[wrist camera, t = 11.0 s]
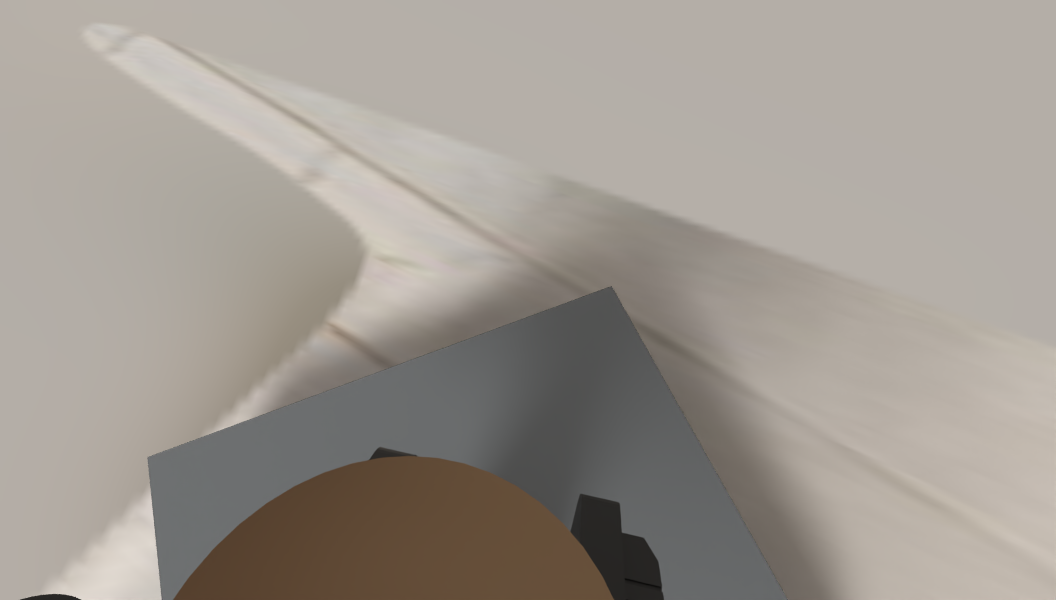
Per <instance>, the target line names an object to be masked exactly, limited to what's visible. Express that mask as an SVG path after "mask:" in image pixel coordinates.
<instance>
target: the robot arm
mask: <svg viewBox="0 0 1056 600" xmlns="http://www.w3.org/2000/svg"><path fill="white" fill-rule="evenodd" d="M401 456H417V455H414V454H409V453H405V452H400V451H396V450H392V449H387V448H383V447H379V448H377V449H376V451H375V452H374V453H373V455H372V456H371V458H370V459H369V460H372V459H377V458H385V457H401ZM417 457H418V456H417ZM570 532H571V533H572V534H573V536H574V537H575V538H576V539H577V540H578V542H579V543H580V544H581V545H582V546H583V547H584V549H585V550H586V552H587V554H588V555H589V557H590V558H591V560H592V561H593V563H594V564H595V566H596V567H597V569H598V570H599V572H600V573H601V575H602V577H603V579H604V581H605V583H606V585H607V587H608V589H609V591H610V593H611V595H612V597H613V599H614V600H664V596H663V592H662V582H661V575H660V568H659V562H658V560H657V558H656V557H655V555H654V553H653V552H652V550H651V548H650V547H649V545H648V543H647V542H646V540H645V539H644V538H643V537H639V536H635V535H630V534H626V533H622V527H621V511H620V503H619V502H616V501H611V500H607V499H603V498H598V497H594V496H590V495H585V494H580V496H579V499H578V502H577V506H576V511H575V515H574V519H573V523H572V527H571V531H570ZM21 600H80V599H78V598H76V597H73V596H69V595H62V594H48V595H39V596H33V597H29V598H25V599H21Z"/></svg>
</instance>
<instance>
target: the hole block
mask: <svg viewBox="0 0 1056 600" xmlns="http://www.w3.org/2000/svg"><path fill="white" fill-rule="evenodd" d="M379 447H383V448H387V449H392V450H396V451H400V452H405V453H409V454H414V455H417V456H418V457H432V458H440V459H445V460H450V461H455V462H460V463H465V464H467V465H470V466H473V467H476V468H479V469H482V470H484V471H487V472H490V473H492V474H494V475H496V476H498V477H500V478H502V479H504V480H506V481H508V482H510V483H512V484H514V485H516V486H517V487H519V488H520V489H522V490H523V491H524V492H526V493H527V494H529V495H530V496H532V497H533V498H535V499H536V500H537V501H539V502H540V503H541V504H542V505H544V506H545V507H546V508H547V509H548V510H549V511H550V512H551V513H552V514H553V515H555V516H556V517H557V518H558V519H559V520H560V521H561V522H562V523H563V524H564V525H565V526H566V527H567V529H568V530H569V531H571V527H572V523H573V519H574V515H575V511H576V506H577V502H578V499H579V496H580V494H585V495H590V496H594V497H598V498H603V499H607V500H611V501H616V502H619V503H620V511H621V527H622V533H626V534H630V535H635V536H639V537H643V538H644V539H645V540H646V542H647V543H648V545H649V547H650V548H651V550H652V552H653V553H654V555H655V557H656V558H657V560H658V562H659V568H660V575H661V582H662V592H663V596H664V600H788V599H787V598H786V596H785V594H784V592H783V590H782V589H781V587H780V585H779V583H778V581H777V580H776V578H775V576H774V574H773V573H772V571H771V569H770V567H769V565H768V564H767V562H766V560H765V558H764V557H763V555H762V553H761V551H760V549H759V548H758V546H757V544H756V542H755V541H754V539H753V537H752V535H751V533H750V532H749V530H748V528H747V526H746V525H745V523H744V521H743V519H742V517H741V516H740V514H739V512H738V510H737V509H736V507H735V505H734V503H733V501H732V500H731V498H730V496H729V494H728V493H727V491H726V489H725V487H724V485H723V484H722V482H721V480H720V478H719V477H718V475H717V473H716V471H715V469H714V468H713V466H712V464H711V462H710V460H709V459H708V457H707V455H706V453H705V452H704V450H703V448H702V446H701V444H700V443H699V441H698V439H697V437H696V436H695V434H694V432H693V430H692V428H691V427H690V425H689V423H688V421H687V420H686V418H685V416H684V414H683V412H682V411H681V409H680V407H679V405H678V404H677V402H676V400H675V398H674V396H673V395H672V393H671V391H670V389H669V388H668V386H667V384H666V382H665V380H664V379H663V377H662V375H661V373H660V372H659V370H658V368H657V366H656V364H655V363H654V361H653V359H652V357H651V356H650V354H649V352H648V350H647V348H646V347H645V345H644V343H643V341H642V339H641V338H640V336H639V334H638V332H637V331H636V329H635V327H634V325H633V323H632V322H631V320H630V318H629V316H628V315H627V313H626V311H625V309H624V307H623V306H622V304H621V302H620V300H619V299H618V297H617V295H616V293H615V291H614V290H613V288H612V286H611V287H608V288H605V289H602V290H600V291H597V292H594V293H592V294H589V295H586V296H583V297H581V298H578V299H575V300H573V301H570V302H567V303H564V304H562V305H559V306H556V307H554V308H551V309H548V310H545V311H543V312H540V313H537V314H535V315H532V316H529V317H526V318H524V319H521V320H518V321H516V322H513V323H510V324H508V325H505V326H502V327H499V328H497V329H494V330H491V331H489V332H486V333H483V334H480V335H478V336H475V337H472V338H470V339H467V340H464V341H461V342H459V343H456V344H453V345H451V346H448V347H445V348H442V349H440V350H437V351H434V352H432V353H429V354H426V355H423V356H421V357H418V358H415V359H413V360H410V361H407V362H404V363H402V364H399V365H396V366H394V367H391V368H388V369H385V370H383V371H380V372H377V373H375V374H372V375H369V376H366V377H364V378H361V379H358V380H356V381H353V382H350V383H347V384H345V385H342V386H339V387H337V388H334V389H331V390H329V391H326V392H323V393H320V394H318V395H315V396H312V397H310V398H307V399H304V400H301V401H299V402H296V403H293V404H291V405H288V406H285V407H282V408H280V409H277V410H274V411H272V412H269V413H266V414H263V415H261V416H258V417H255V418H253V419H250V420H247V421H244V422H242V423H239V424H236V425H234V426H231V427H228V428H225V429H223V430H220V431H217V432H215V433H212V434H209V435H206V436H204V437H201V438H198V439H196V440H193V441H190V442H187V443H185V444H182V445H179V446H177V447H174V448H172V449H169V450H166V451H163V452H160V453H158V454H155V455H152V456H150V457H148V467H149V477H150V487H151V497H152V507H153V517H154V526H155V536H156V546H157V556H158V566H159V576H160V586H161V596H162V600H173V599H174V598H175V596H176V595H177V593H178V592H179V590H180V589H181V588H182V586H183V585H184V583H185V582H186V580H187V579H188V578H189V576H190V575H191V574H192V573H193V572H194V571H195V570H196V568H197V567H198V566H199V565H200V564H201V563H202V561H203V560H204V559H205V558H206V557H207V556H208V554H209V553H210V552H211V551H212V550H213V549H214V548H215V547H216V546H217V545H218V544H219V543H220V542H221V541H222V540H223V539H224V538H225V537H226V536H227V535H228V534H229V533H231V532H232V531H233V530H234V529H235V528H236V527H237V526H238V525H239V524H240V523H241V522H243V521H244V520H245V519H247V518H248V517H249V516H251V515H252V514H253V513H254V512H256V511H257V510H258V509H260V508H261V507H262V506H264V505H265V504H266V503H268V502H269V501H271V500H273V499H274V498H276V497H277V496H279V495H281V494H282V493H284V492H286V491H287V490H289V489H291V488H292V487H294V486H296V485H298V484H300V483H302V482H304V481H307V480H309V479H311V478H313V477H315V476H317V475H320V474H322V473H324V472H327V471H330V470H333V469H336V468H339V467H342V466H346V465H349V464H352V463H357V462H362V461H367V460H369V459H370V458H371V456H372V455H373V453H374V452H375V451H376V449H377V448H379Z"/></svg>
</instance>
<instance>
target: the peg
mask: <svg viewBox="0 0 1056 600" xmlns="http://www.w3.org/2000/svg"><path fill="white" fill-rule="evenodd" d="M173 600H614V599H613V597H612V595H611V593H610V591H609V589H608V587H607V585H606V583H605V581H604V579H603V577H602V575H601V573H600V572H599V570H598V569H597V567H596V566H595V564H594V563H593V561H592V560H591V558H590V557H589V555H588V554H587V552H586V550H585V549H584V547H583V546H582V545H581V544H580V543H579V542H578V540H577V539H576V538H575V537H574V536H573V534H572V533H571V532H570V531H569V530H568V529H567V527H566V526H565V525H564V524H563V523H562V522H561V521H560V520H559V519H558V518H557V517H556V516H555V515H553V514H552V513H551V512H550V511H549V510H548V509H547V508H546V507H545V506H544V505H542V504H541V503H540V502H539V501H537V500H536V499H535V498H533V497H532V496H530V495H529V494H527V493H526V492H524V491H523V490H522V489H520V488H519V487H517V486H516V485H514V484H512V483H510V482H508V481H506V480H504V479H502V478H500V477H498V476H496V475H494V474H492V473H490V472H487V471H484V470H482V469H479V468H476V467H473V466H470V465H467V464H465V463H460V462H455V461H450V460H445V459H440V458H432V457H417V456H401V457H385V458H377V459H372V460H367V461H362V462H357V463H352V464H349V465H346V466H342V467H339V468H336V469H333V470H330V471H327V472H324V473H322V474H320V475H317V476H315V477H313V478H311V479H309V480H307V481H304V482H302V483H300V484H298V485H296V486H294V487H292V488H291V489H289V490H287V491H286V492H284V493H282V494H281V495H279V496H277V497H276V498H274V499H273V500H271V501H269V502H268V503H266V504H265V505H264V506H262V507H261V508H260V509H258V510H257V511H256V512H254V513H253V514H252V515H251V516H249V517H248V518H247V519H245V520H244V521H243V522H241V523H240V524H239V525H238V526H237V527H236V528H235V529H234V530H233V531H232V532H231V533H229V534H228V535H227V536H226V537H225V538H224V539H223V540H222V541H221V542H220V543H219V544H218V545H217V546H216V547H215V548H214V549H213V550H212V551H211V552H210V553H209V554H208V556H207V557H206V558H205V559H204V560H203V561H202V563H201V564H200V565H199V566H198V567H197V568H196V570H195V571H194V572H193V573H192V574H191V575H190V576H189V578H188V579H187V580H186V582H185V583H184V585H183V586H182V588H181V589H180V590H179V592H178V593H177V595H176V596H175V598H174V599H173Z"/></svg>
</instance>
